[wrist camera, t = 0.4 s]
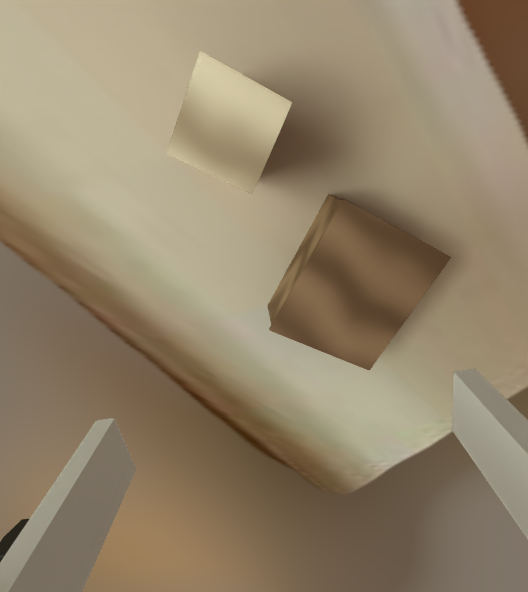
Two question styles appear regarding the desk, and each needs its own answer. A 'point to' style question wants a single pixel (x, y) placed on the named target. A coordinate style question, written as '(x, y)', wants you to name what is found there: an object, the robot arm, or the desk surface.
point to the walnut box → (352, 284)
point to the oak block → (227, 124)
